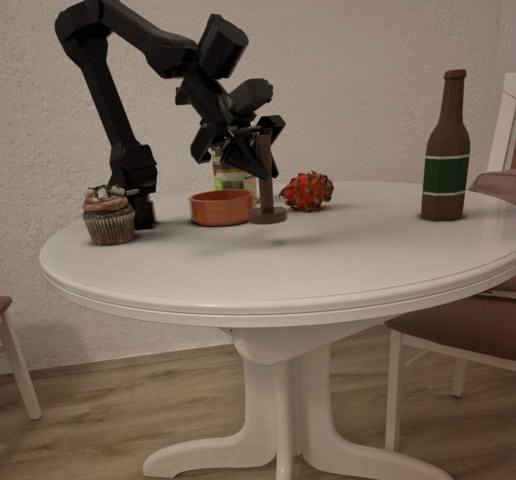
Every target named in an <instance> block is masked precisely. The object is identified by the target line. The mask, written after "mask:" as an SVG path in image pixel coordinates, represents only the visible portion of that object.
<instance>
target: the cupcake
mask: <svg viewBox="0 0 516 480" xmlns="http://www.w3.org/2000/svg"><path fill="white" fill-rule="evenodd" d="M124 193H125V190H124V189H123V188H120V186H119V185H117V184H113V185H111V186H109V187H107V184H101V185H97V186H94V187H87V189H85V190H84V191H83V195H84V198H85V199H84V200H83V203H82V205H81V207H82V210H83V212H82V221H83V223H84V225H85V227H86V229H87V232H88V234H89V236H90V239H91V241H92V243H93V245H97V246H113V245H119V244H124V243H128V242H130V241H132V240H134V239H135V238H136V232H135V230H136V229H134V220H135V210H133V208H132V206H131V205H130V204H128V199H127V198H126V197H125V196H123V195H124Z"/></svg>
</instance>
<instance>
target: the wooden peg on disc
mask: <svg viewBox="0 0 516 480" xmlns="http://www.w3.org/2000/svg"><path fill="white" fill-rule="evenodd" d="M256 144H257V156H258V158H259V159H260V161H261V162H262V164H263V165H264V167H265V168H266V170H267V172H268V173H269V175H270V177H269V179H268V180H267V181H263V180H261V179H259V178H258V192H259V204H260V205H259V207H256V208H254V209H251V210H249V211H248V219H249V220H248V223H249V224H251V225H258V226H263V225H264V226H265V225H277V224H280V223H284V222H287V220H288V210H287V208H286V207H284V206H275V203H274V183H273V182H274V181H273V178H272V160H271V152H272V146H271V140H270V135H257V136H256Z"/></svg>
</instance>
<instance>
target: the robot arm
mask: <svg viewBox="0 0 516 480" xmlns="http://www.w3.org/2000/svg"><path fill="white" fill-rule="evenodd" d="M53 25H54V26H53V27H54V33H55V36H56V37H57V40H58V42H59V44H60V46H61V48H62V49H63V52H64V54H65V55H66V57H68V59H69V60H70V61H72V62H73V64H75V65H76V66H77V67H78V69H80V72H81V74H82V76H83V78H84V81H85V84H86V87H87V89H88V91H89V94H90V96H91V99H92V102H93V104H94V106H95V109H96V112H97V114H98V117H99V120H100V122H101V124H102V126H103V130H104V132H105V135H106V138H107V140H108V142H109V144H110V154H109V160H108V163H109V167H110V171H111V174H110V177H109V180H108V182H107V184H106V185H107V187H109V186H111V185H113V184H117V185H119V186H120V188H123V189H124V190H125V193H124V195H123V196H125V197H126V198H127V199H128V204H130V205H131V206H132V208H133V210H135V220H134V230H142V229H152V228H153V226H154V225H155V223H156V221H157V213H156V209H155V208H156V207H155V201H154V200H151V195H150V194H156V193H157V184H158V183H157V181H158V175H159V174H158V173H159V172H158V168H157V166H158V163H157V161H156V159H155V157H154V153H153V150H152V148H151V146H150V145H149V144H148V143H145V144H142V143H141V142H140V141H138V139H137V138H136V136H135V133H134V131H133V128H132V125H131V123H130V120H129V117H128V115H127V113H126V109H125V107H124V104H123V101H122V99H121V97H120V94H119V91H118V89H117V86H116V84H115V83H116V82H115V80H114V78H113V75H112V72H111V70H110V67H109V65H108V62H107V59H108V52H109V42H108V38H109V37H110V36H111V35H113V34H115V35H117V36H118V37H120V38H121V39H123V40H124V41H125V42H127V43H128V44H129V45H131V46H133V47H134V48H135V49H137V50H138V51H139V52H141V53H142V54H143V55H144V57H145V60H146V63H147V66H149V68H151V69H152V70H153V71H154V73H156V75H157V76H158V77H160V78H161V79H163V80H182V81H181V82H180V83H181V84H180V85H179V86H176V87H175V96H174V104H175V106H188V105H190V106H191V107H192V108H193V110H194V111H195V112H196V114H197V115H198V116H199V117H200V118H201V119H200V120H199V123H198V124H199V129H198V130H197V132H196V133H195V136H194V138H193V139H192V141H191V143H190V144H189V152H190V156H191V157H192V159H193V160H194V161H195V163H197V165H202V164H208V163H211V162H212V156H211V151H209V150H210V149H211V148H213V147H217V148H220V149H221V153H222V154H223V155H222V157H221V158H220V160H219V162H220V163H222V164H223V163H224V164H227V165H230V166H232V167H235V168H237V169H240V170H242V171H244V172H246V173H248V174H251V175H253V176H255V177H256V179H258V180H259V179H261V180H263V181H267V180H268V179H269V177H270V175H269V173H268V172H267V170H266V168H265V167H264V165H263V164H262V162H261V161H260V159H259V158H258V156H257V144H256V136H257V135H270V140H271V147H272V146H273V145H274V143H275V141H276V140H277V139H278V138H279V136H280V134H281V133H282V131H283V130H284V129H285V127H286V126H287V122H286V121H285V120H284V119H283V117H282V116H281V115H280V114H270V115H261V116H260V117H259V119H258V120H257V122H256V124H255V125H252V124H251V123H252V122H254V121H255V119H256V118H257V116H258V115H257V113H256V111H258V110H259V109H260V108H261V107H263V106H264V105H266V104H269V103H271V102H272V101H273V96H274V85H273V84H271V83H270V82H269V80H268V79H265V77H264V78H263V77H259V78H257V77H256V78H248V79H246V80H244V81H243V82H241V83H240V84H239V85H237V86H236V87H235V88H234V89H233V90H231V91H230V92H228V91H227V89H226V88H225V87H224V86H223V85H222V84H221V82H220V80H223V79H230V78H232V76H233V74H234V72H235V70H236V68H237V66H238V64H239V62H240V60H241V58H242V57H243V55H244V53H245V51H246V50H247V48H248V47H249V44H250V40H249V37H248V35H247V34H246V32H245V31H244V30H243V29H242V28H239V27H238V26H237V25H235V24H234V23H232V22H231V21H229V20H227V19H225V18H224V17H223V16H222V14H220V13H210V14H209V17H208V19H207V22H206V25H205V28H204V31H203V33H202V34H201V37H200V39H199V41H198V43H197V42H196V41H195V40H194V39H192V38H189V37H187V36H184V35H181V34H177V33H174V32H170V31H167V30H164V29H161V28H160V27H158V26H157V25H155V24H154V23H153V22H151V21H149V20H148V19H146V18H145V17H143V16H142V15H140V14H139V13H138V12H136V11H135V10H133V9H132V8H130V7H128V6H127V5H126V4H124V3H123V2H121V0H82V1H80V2H77V3H75V4H73V5H70V6H68V7H67V8H65V9H64V10H61V11H60V12H59V13H58V14H57V17H56V18H55V20H54V24H53ZM271 160H272V179H274V180H275V179H277V178H278V177H279V175H280V172H279V170H278V167H277V163H276V161H275V157H274V155H273V152H272V151H271Z"/></svg>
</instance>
